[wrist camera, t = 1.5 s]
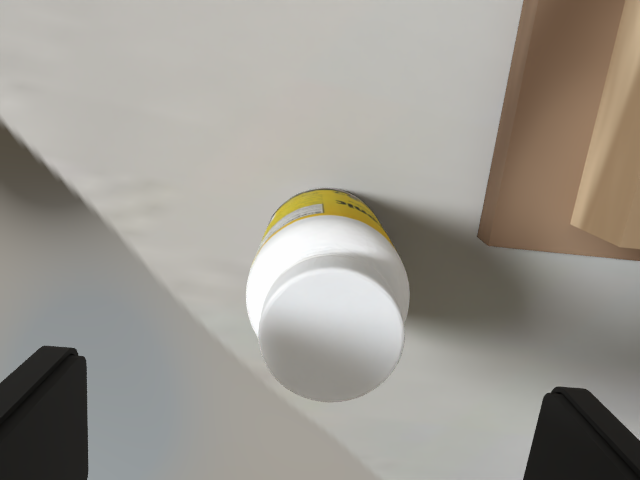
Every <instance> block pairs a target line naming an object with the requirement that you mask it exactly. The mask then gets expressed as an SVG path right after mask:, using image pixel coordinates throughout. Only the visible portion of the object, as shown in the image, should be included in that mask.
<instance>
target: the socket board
mask: <svg viewBox="0 0 640 480" xmlns="http://www.w3.org/2000/svg"><path fill="white" fill-rule="evenodd" d="M477 237H478V238H479V239H480V240H482V241H483V242H484V243H485V244H487V245H488V246H494V247H505V248H515V249H525V250H535V251H545V252H555V253H565V254H575V255H585V256H595V257H605V258H615V259H625V260H635V261H640V0H524V1H523V6H522V11H521V16H520V22H519V27H518V32H517V37H516V42H515V47H514V52H513V57H512V62H511V67H510V72H509V77H508V83H507V88H506V93H505V98H504V103H503V108H502V113H501V118H500V123H499V128H498V133H497V138H496V144H495V149H494V154H493V159H492V164H491V169H490V174H489V179H488V184H487V189H486V194H485V200H484V205H483V210H482V215H481V220H480V225H479V230H478V235H477Z"/></svg>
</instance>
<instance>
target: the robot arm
mask: <svg viewBox="0 0 640 480" xmlns="http://www.w3.org/2000/svg"><path fill="white" fill-rule="evenodd" d="M86 371H87V367H86V359H85V357H83V356H78V353H77V350H76V349H75V348H67V347H54V346H42V347H41V348H39V349H38V350H37V351H36V352H35V353H34V354H33V355H32V356H31V357H29V358H28V359H27V360H26V361H25V362H24V363H23V364H22V365H20V366H19V367H18V368H17V369H16V370H15V371H14V372H13V373H11V374H10V375H9V376H8V377H7V378H6V379H4V380H3V381H2V382H1V383H0V480H87V477H88V426H87V372H86ZM523 480H640V441H639V440H638V439H637V438H636V437H635V436H634V435H633V434H632V433H631V432H630V431H629V430H628V429H627V428H626V427H625V426H624V425H623V424H622V423H621V422H620V421H619V420H618V419H617V418H616V417H615V416H614V415H613V414H612V413H611V412H610V411H609V410H608V409H607V408H606V407H605V406H604V405H603V404H602V403H601V402H600V401H599V400H598V399H597V398H596V397H595V396H594V395H593V394H592V393H591V392H589V391H588V390H587V389H582V388H569V387H555V388H554V389H553V390H552V392H551V393H547V394H546V395H545V396H544V398H543V401H542V405H541V410H540V414H539V418H538V422H537V426H536V430H535V434H534V438H533V442H532V446H531V450H530V454H529V458H528V462H527V466H526V470H525V474H524V478H523Z"/></svg>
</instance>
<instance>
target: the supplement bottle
mask: <svg viewBox="0 0 640 480" xmlns="http://www.w3.org/2000/svg"><path fill="white" fill-rule="evenodd" d="M409 301H410V289H409V282H408V277H407V274H406V270H405V267H404V265H403V263H402V261H401V258H400V256H399V254H398V253H397V251H396V249H395V248H394V246H393V244H392V242H391V241H390V239H389V237H388V236H387V234H386V232H385V231H384V229H383V228H382V226H381V224H380V223H379V221H378V220H377V218H376V216H375V215H374V214H373V212H372V211H371V210H370V208H369V207H368V206H367V205H366V204H365V203H364V202H362V201H361V200H360V199H359V198H357V197H356V196H354V195H352V194H350V193H348V192H345V191H343V190H339V189H334V188H315V189H310V190H306V191H303V192H301V193H298V194H296V195H294V196H293V197H291V198H290V199H288V200H287V201H286V202H285V203H283V204H282V205H281V206H280V207H279V208H278V210H277V211H276V212H275V213H274V215H273V216H272V218H271V220H270V222H269V224H268V226H267V229H266V231H265V234H264V236H263V239H262V242H261V244H260V246H259V249H258V251H257V254H256V256H255V259H254V261H253V264H252V266H251V269H250V273H249V277H248V281H247V288H246V305H247V311H248V315H249V319H250V322H251V325H252V327H253V329H254V331H255V333H256V335H257V337H258V340H259V346H260V351H261V355H262V357H263V360H264V362H265V364H266V366H267V368H268V369H269V371H270V372H271V374H272V375H273V376H274V377H275V379H276V380H277V381H278V382H279V383H281V384H282V385H283V386H284V387H285V388H287V389H288V390H290V391H292V392H293V393H295V394H297V395H300V396H302V397H304V398H307V399H311V400H315V401H321V402H341V401H347V400H351V399H355V398H358V397H361V396H363V395H365V394H367V393H369V392H370V391H372V390H374V389H375V388H377V387H378V386H379V385H380V384H382V383H383V382H384V381H385V380H386V379H387V378H388V377H389V375H390V374H391V373H392V372H393V370H394V369H395V367H396V365H397V364H398V362H399V359H400V357H401V354H402V351H403V347H404V341H405V327H404V323H405V321H406V318H407V314H408V309H409Z"/></svg>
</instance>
